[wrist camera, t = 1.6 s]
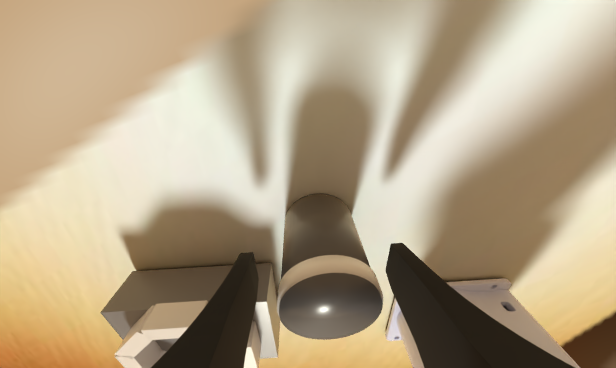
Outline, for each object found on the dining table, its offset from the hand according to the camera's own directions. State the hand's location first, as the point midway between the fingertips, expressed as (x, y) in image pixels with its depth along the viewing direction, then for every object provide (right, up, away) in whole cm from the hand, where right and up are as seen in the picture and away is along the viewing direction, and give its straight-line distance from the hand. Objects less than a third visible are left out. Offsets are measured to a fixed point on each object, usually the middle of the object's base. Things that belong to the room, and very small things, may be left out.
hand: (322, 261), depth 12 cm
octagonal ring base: (-8, -5, +6) cm, 11 cm away
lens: (0, +2, +3) cm, 3 cm away
